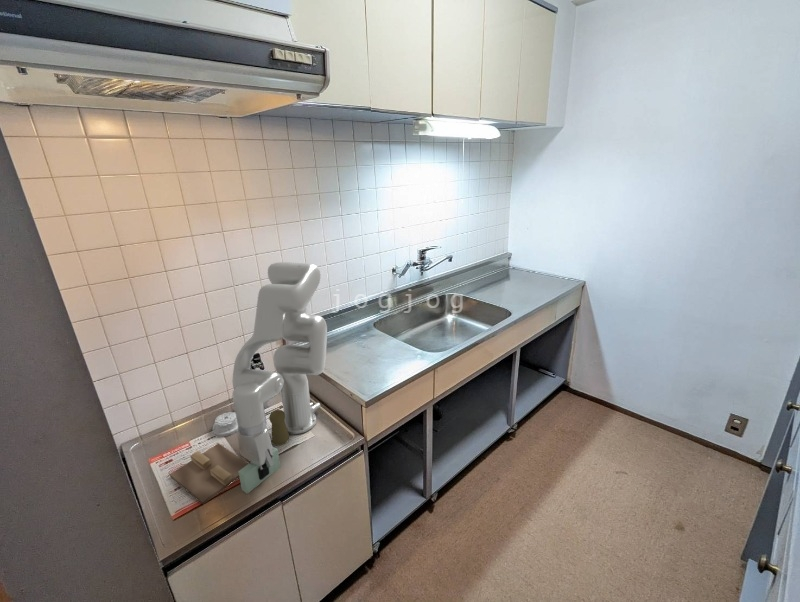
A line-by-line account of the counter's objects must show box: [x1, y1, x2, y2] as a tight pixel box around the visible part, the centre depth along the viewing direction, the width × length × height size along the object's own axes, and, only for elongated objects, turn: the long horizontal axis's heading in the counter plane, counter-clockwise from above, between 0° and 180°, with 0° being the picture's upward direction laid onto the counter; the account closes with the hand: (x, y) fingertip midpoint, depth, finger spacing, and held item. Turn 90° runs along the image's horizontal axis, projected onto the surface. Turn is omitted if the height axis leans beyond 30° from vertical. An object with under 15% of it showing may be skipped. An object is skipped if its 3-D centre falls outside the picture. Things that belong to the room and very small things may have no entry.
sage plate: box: [238, 445, 281, 494], centre depth 112 cm, size 12×2×7 cm, turn 147°
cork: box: [268, 409, 291, 446], centre depth 127 cm, size 6×6×11 cm
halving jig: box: [169, 443, 250, 506], centre depth 115 cm, size 16×18×3 cm
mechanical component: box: [212, 411, 238, 437], centre depth 134 cm, size 10×4×10 cm
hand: (261, 473), depth 112 cm, fingers closed on sage plate, 2 cm apart
